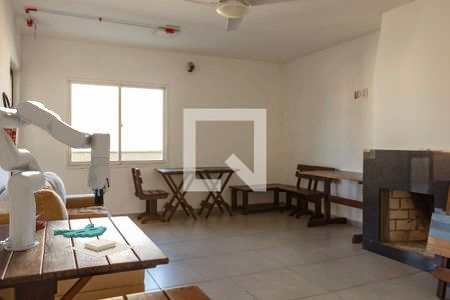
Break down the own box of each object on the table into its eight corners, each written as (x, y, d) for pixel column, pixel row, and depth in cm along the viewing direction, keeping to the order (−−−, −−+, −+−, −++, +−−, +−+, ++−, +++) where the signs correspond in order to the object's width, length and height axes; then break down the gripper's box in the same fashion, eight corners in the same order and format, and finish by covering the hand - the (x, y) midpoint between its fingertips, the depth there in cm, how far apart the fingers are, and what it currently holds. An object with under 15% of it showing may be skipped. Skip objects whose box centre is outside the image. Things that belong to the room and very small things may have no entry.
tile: (84, 247, 146) (97, 251, 141) (84, 242, 146) (97, 246, 141) (102, 242, 153) (115, 246, 148) (102, 238, 153) (115, 242, 148)
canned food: (36, 239, 176) (30, 223, 172) (22, 234, 180) (15, 219, 175) (53, 224, 186) (48, 209, 181) (39, 220, 189) (33, 206, 184)
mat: (98, 259, 133) (98, 257, 133) (68, 249, 145) (68, 247, 145) (135, 248, 148) (135, 246, 148) (105, 240, 159) (105, 238, 159)
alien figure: (54, 234, 169) (76, 242, 157) (54, 230, 169) (76, 237, 157) (91, 227, 185) (114, 234, 173) (91, 223, 185) (114, 229, 173)
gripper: (81, 160, 148) (80, 203, 149) (103, 162, 140) (101, 208, 140) (97, 160, 154) (96, 201, 155) (118, 162, 146) (117, 206, 146)
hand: (98, 204), depth 147 cm, fingers closed
